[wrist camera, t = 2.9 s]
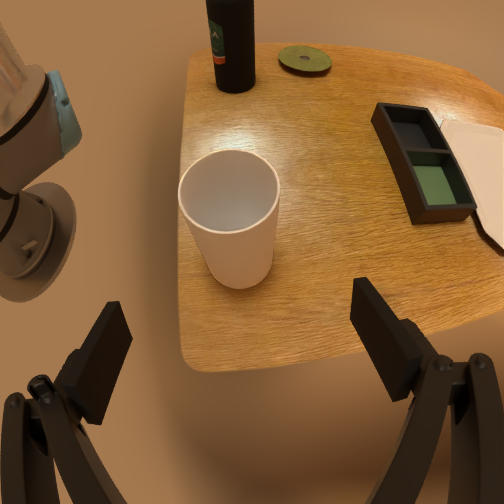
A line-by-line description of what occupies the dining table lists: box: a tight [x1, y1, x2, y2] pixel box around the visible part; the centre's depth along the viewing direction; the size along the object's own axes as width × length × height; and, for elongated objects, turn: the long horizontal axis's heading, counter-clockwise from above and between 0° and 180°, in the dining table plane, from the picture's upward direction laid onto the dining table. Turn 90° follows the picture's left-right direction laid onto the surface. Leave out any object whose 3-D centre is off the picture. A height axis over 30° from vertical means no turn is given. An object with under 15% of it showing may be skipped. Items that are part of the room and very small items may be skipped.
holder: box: [371, 103, 478, 225], centre depth 41 cm, size 11×21×5 cm, turn 6°
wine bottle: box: [206, 0, 255, 93], centre depth 37 cm, size 8×8×30 cm
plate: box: [440, 119, 504, 251], centre depth 42 cm, size 29×29×2 cm
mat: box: [279, 46, 332, 71], centre depth 53 cm, size 11×11×2 cm
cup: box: [178, 149, 280, 289], centre depth 31 cm, size 8×8×16 cm
